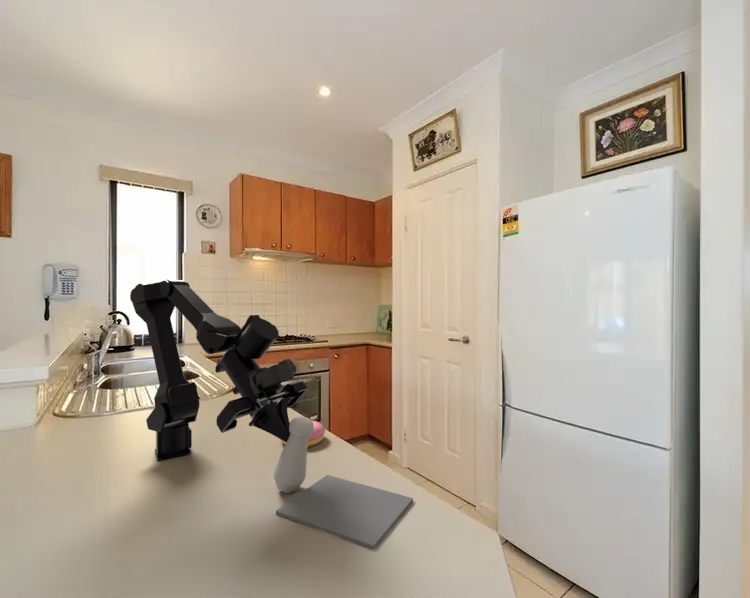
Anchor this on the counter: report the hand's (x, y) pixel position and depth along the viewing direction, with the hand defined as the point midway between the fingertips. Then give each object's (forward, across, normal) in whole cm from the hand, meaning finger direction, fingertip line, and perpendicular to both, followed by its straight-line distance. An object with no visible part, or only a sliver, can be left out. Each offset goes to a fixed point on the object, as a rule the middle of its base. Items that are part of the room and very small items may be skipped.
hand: (290, 440), depth 68 cm
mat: (+15, 0, -2) cm, 15 cm away
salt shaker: (+5, 0, +7) cm, 9 cm away
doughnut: (-3, +20, +16) cm, 26 cm away
